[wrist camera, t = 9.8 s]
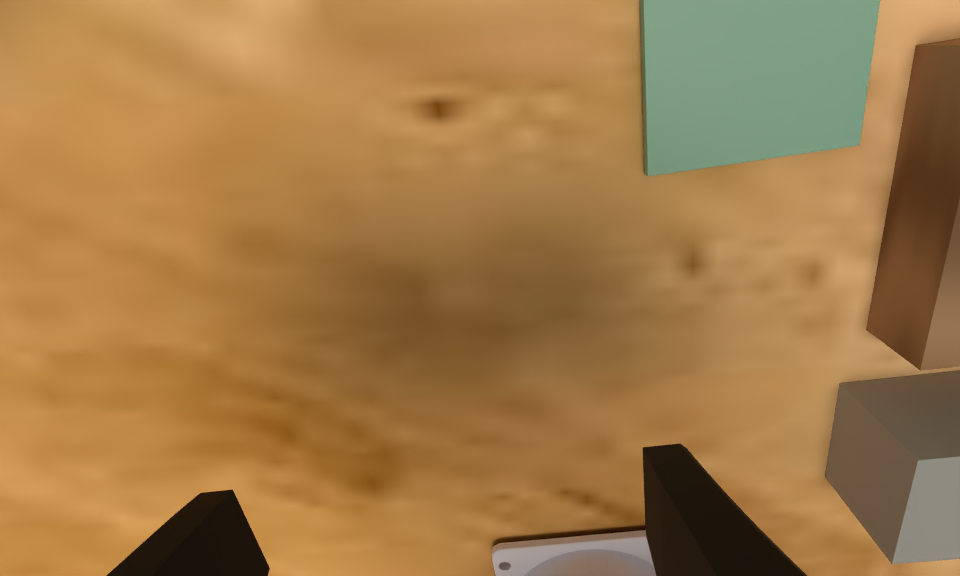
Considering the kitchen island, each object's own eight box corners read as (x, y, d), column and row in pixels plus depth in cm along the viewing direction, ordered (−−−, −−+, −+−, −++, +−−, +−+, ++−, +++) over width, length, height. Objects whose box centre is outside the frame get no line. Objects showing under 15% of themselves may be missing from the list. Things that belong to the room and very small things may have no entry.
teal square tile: (850, 142, 15) (859, 145, 15) (644, 173, 16) (648, 176, 16) (883, -103, 13) (894, -107, 13) (638, -57, 14) (642, -60, 13)
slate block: (942, 463, 21) (1039, 552, 17) (823, 474, 21) (892, 564, 17) (969, 367, 19) (1083, 445, 15) (837, 381, 19) (918, 460, 15)
